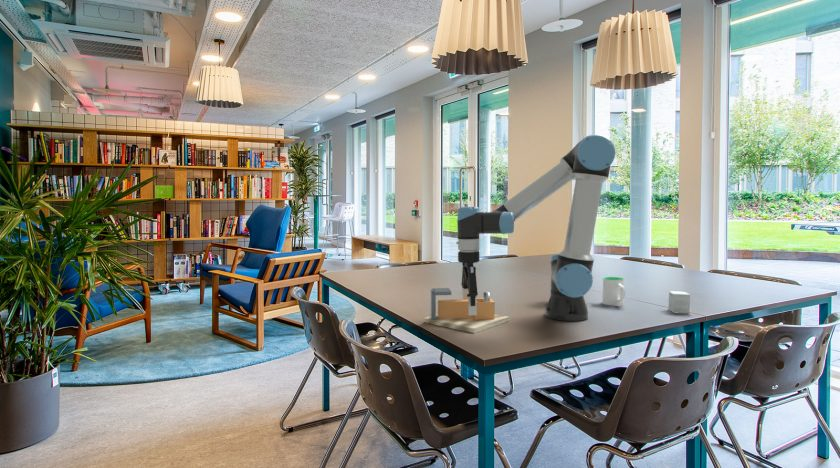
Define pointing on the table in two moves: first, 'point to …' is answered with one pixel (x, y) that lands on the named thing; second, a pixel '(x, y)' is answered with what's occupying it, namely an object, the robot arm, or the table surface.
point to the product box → (679, 302)
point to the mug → (613, 291)
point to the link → (465, 309)
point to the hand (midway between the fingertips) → (469, 310)
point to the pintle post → (486, 296)
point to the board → (468, 323)
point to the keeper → (433, 299)
